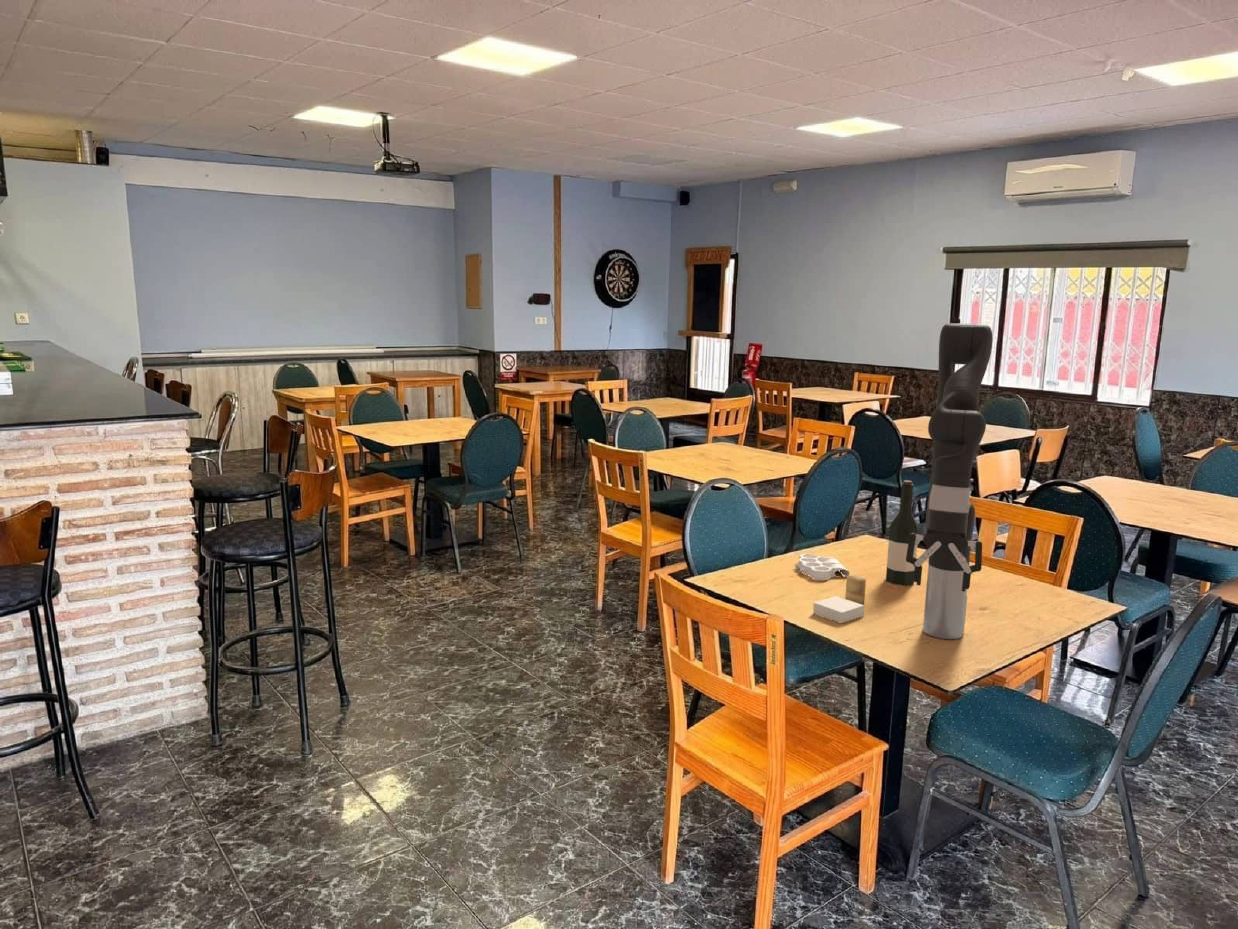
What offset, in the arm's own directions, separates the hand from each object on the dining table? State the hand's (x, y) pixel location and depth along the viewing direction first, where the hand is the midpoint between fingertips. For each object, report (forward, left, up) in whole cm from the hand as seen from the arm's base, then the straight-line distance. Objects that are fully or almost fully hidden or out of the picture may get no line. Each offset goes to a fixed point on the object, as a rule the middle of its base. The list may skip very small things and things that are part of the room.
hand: (940, 587), depth 169 cm
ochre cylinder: (-32, -43, -23) cm, 58 cm away
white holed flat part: (-47, -67, -23) cm, 85 cm away
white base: (-21, -40, -23) cm, 50 cm away
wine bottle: (-59, -47, -23) cm, 78 cm away
